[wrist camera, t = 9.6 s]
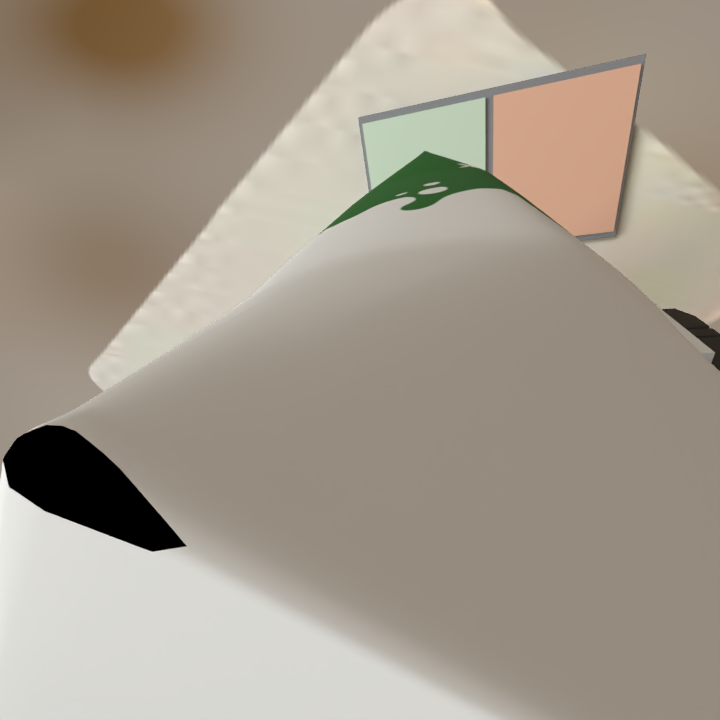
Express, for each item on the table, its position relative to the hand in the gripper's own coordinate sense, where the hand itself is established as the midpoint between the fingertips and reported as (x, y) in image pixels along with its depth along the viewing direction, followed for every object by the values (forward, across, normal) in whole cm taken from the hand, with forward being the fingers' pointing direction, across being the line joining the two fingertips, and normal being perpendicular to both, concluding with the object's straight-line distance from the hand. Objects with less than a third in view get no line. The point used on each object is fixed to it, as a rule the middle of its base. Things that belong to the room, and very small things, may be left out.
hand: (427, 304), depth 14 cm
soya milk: (+5, 0, 0) cm, 5 cm away
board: (+22, -5, -2) cm, 23 cm away
